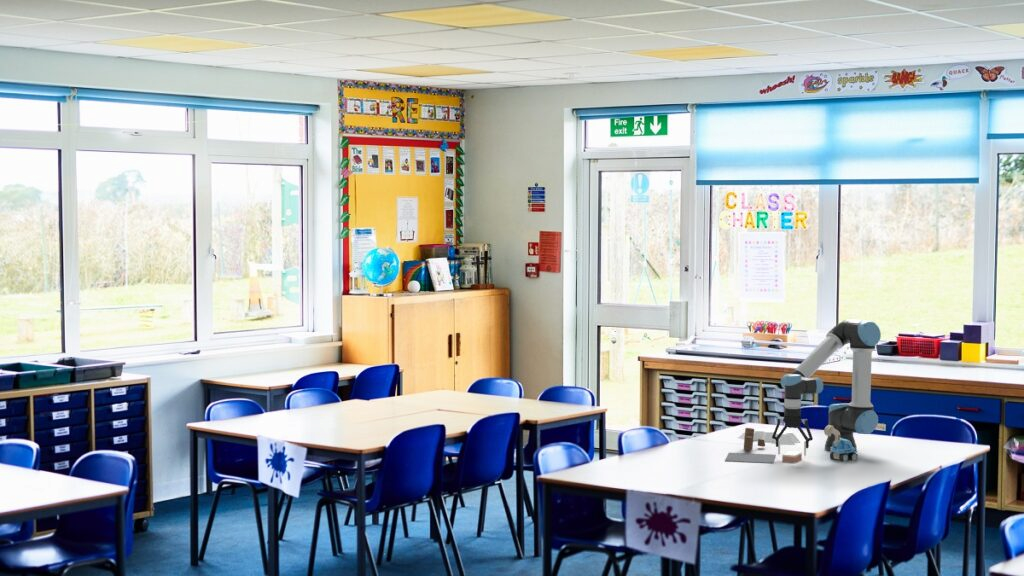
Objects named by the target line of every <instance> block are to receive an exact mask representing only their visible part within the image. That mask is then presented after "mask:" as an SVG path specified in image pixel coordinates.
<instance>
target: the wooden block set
mask: <svg viewBox="0 0 1024 576" xmlns="http://www.w3.org/2000/svg"><path fill="white" fill-rule="evenodd" d="M754 430H755V429H754V428H753V427H745V429H744V432H745V438H744V439H743V440H744V441H743V450H745V451H753V447H754V440H753V438H754ZM765 443H766V442H764V440H762V439H758V440H757V446H758V447H764V448H765V447H766V444H765Z"/></svg>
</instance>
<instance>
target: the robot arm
mask: <svg viewBox="0 0 1024 576" xmlns="http://www.w3.org/2000/svg"><path fill="white" fill-rule="evenodd" d="M881 338H882V337H881V329H880V327H879V325H878V324H877V323H876V322H873V321H871V320H867V319H852V318H849V319H845V320H842V321H841V322H839V323H837V324H836V325H835V326H834V327H832V328H831V329H830V330H829V331H828V332H827V333H826V335H825V338H824V339H823V340H822V341H821V343H819V344H818V346H817V347H815V349H814V350H812V351H811V353H810V354H809V355H808V356H807V357H806V358H805V359H803V361H802V362H801V363H800V364H799V365H798V366H797V367H796V368H795V369H794V370H793V371H792V372H791V373H787V374H784V375H783V376H782V377H781V378H780V385H781V387H782V389H783V390H784V405H783V406H784V410H783V413H784V414H783V418H780V417H777V423H776V426H775V428H774V429H775V431H774V433H773V436H772V438H773V439H775V440H776V443H775V447H777V448H778V449H777V454H778V455H781V444H780V440H779V438H780V437H781V435H782V434H783V432H784V431H787V428H789V429H796V428H797V429H798V431H799V432H800V434H801V435H802V437H803V438H804V442H803V443H804V444H803V446H804V449H803V455H804V457H806V456H807V449H809V446H810V445H809V442H811V441H813V439H814V438H813V435H812V432H811V429H810V427H809V424H808V422H809V421H808V419H807V418H805V419H804V418H803V419H802V410H801V407H802V395H816V394H820V393H821V392H823V390H824V382H823V380H822V379H821V378H820V377H811V376H813V375H814V374H815V373H816V372H817V371H818V370H819V368H820V367H822V365H824V364H825V362H826V361H827V360H828V359H829V358H830V357H831V356H832V355H833V354H834V353H835V352H836V351H837V350H838V349H842V348H843V347H844V346H845V345H847V344H849V349H850V350H851V351H852V377H851V381H852V382H851V401H850V402H849V403H846V402H845V403H832V404H830V405H829V407H828V411H827V412H828V425H831V426H834V429H836V430H838V431H839V432H840V438H843V439H847V440H849V441H850V442H851V443H852V447H854V448H855V451H856V450H857V449H858V448H857V446H858V445H857V443H856V440H855V437H854V433H857V434H859V435H861V434H862V435H868V434H871V433H872V432H874V430H876V428H877V427H878V424H879V416H878V415H877V413H876V411H874V405H873V403H872V402H871V391H872V389H871V388H872V385H871V384H872V357H873V355H872V354H873V352H874V351H875V350H876V345H878V343H879V342H880V340H881ZM782 422H783V423H784V424H785V425H784V426H783V427H782V429H781V432H780V433H779V434H778V436H777V437H776V436H775V435H776V433H777V430H779V427H780V424H782ZM801 423H803V425H804V427H805V429H806V430H805V431H806V432H807V434H806V433H805V431H804V430H803V429H802V427H801ZM807 435H808V436H807ZM834 441H835V435H834V434H833V433H831V436H827V438H826V440H825V444H824V450H825V451H827V452H830V447H833V442H834ZM857 451H858V450H857ZM857 451H856V452H857Z"/></svg>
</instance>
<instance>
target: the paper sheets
mask: <svg viewBox="0 0 1024 576" xmlns="http://www.w3.org/2000/svg"><path fill="white" fill-rule="evenodd" d="M781 430H782V429H781ZM781 430H780V429H778V430H777V433H776V435H775V436H776V437H777V436H778V434H779V433H780V432H781ZM774 431H775V428H774V429H772V428H768V427H766V428H762V427H761V428H760V427H758V428H757V427H756V428H755V429H754V438H753V441H758V439H762V440H764V442H765V443H774V444H776V440H775V439H773V438H772V436H773V433H774ZM744 438H745V431H744V432H743V433H742V434H741V435H740V436H738V437H737V439H741V440H744ZM779 440H780V445H791V446H796V444H798V443H799V444H800V443H802V442H801V441H800V440H799V438H797V436H796V434H794V432H792V431H789V430H785V431H784V432H783V434H782V435H781V437H780V438H779Z"/></svg>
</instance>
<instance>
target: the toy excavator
mask: <svg viewBox="0 0 1024 576" xmlns="http://www.w3.org/2000/svg"><path fill="white" fill-rule="evenodd" d="M823 433H824V435H825V436H827V437H828V436H831V433H833V434H834V435H835V441H834V442H833V447H830V451H831V452H830V451H829V458H830V460H839V462H848V461H852V460H853V461H857V460H858V453H856V452H855V448H854V447H852V443H851V442H850V441H849V440H847V439H843V438H840V432H839V431H838V430H836V429H834V426H831V425H829V424H828V425H826V426H825V428H824V430H823Z"/></svg>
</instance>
